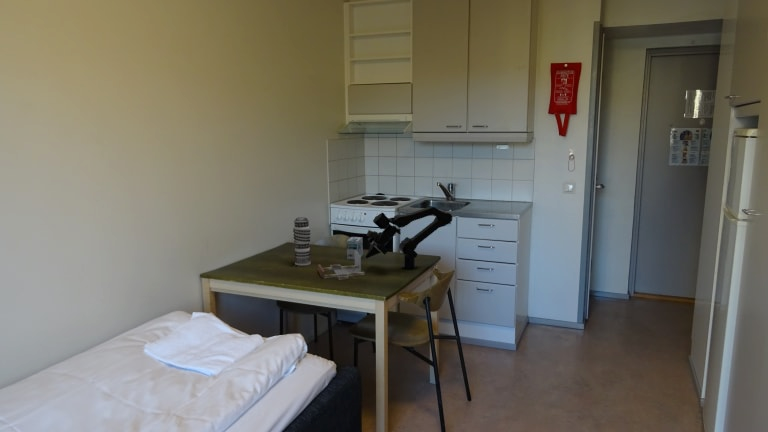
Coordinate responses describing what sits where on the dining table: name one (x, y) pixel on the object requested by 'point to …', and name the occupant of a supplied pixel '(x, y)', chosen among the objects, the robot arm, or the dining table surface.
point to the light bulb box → (354, 247)
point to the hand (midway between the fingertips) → (366, 257)
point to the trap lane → (337, 267)
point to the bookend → (353, 270)
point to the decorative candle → (302, 241)
